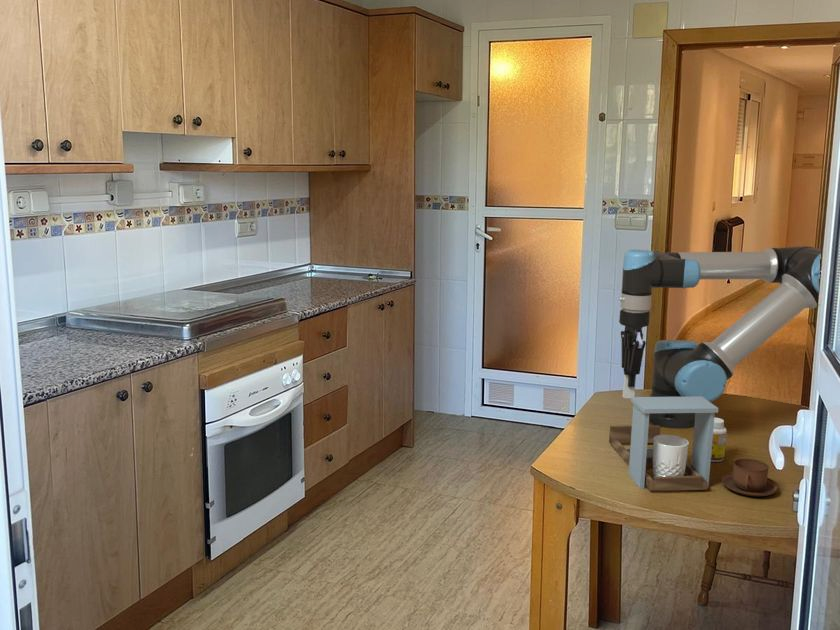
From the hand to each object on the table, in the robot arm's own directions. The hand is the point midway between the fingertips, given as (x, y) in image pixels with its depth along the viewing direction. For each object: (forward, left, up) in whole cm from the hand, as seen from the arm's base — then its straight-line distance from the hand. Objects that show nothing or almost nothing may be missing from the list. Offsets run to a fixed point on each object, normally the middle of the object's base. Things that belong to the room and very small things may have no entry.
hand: (628, 397), depth 221 cm
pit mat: (+5, +14, -11) cm, 19 cm away
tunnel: (+10, +28, -11) cm, 32 cm away
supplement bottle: (-10, +21, -11) cm, 26 cm away
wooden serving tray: (+7, +20, -10) cm, 23 cm away
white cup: (+10, +28, -11) cm, 32 cm away
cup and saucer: (-4, +39, -11) cm, 41 cm away
